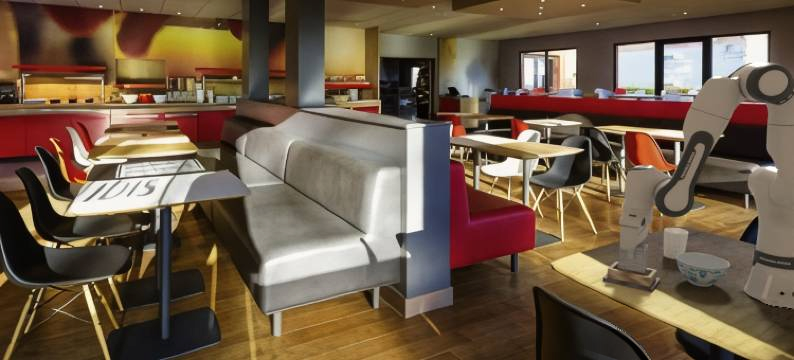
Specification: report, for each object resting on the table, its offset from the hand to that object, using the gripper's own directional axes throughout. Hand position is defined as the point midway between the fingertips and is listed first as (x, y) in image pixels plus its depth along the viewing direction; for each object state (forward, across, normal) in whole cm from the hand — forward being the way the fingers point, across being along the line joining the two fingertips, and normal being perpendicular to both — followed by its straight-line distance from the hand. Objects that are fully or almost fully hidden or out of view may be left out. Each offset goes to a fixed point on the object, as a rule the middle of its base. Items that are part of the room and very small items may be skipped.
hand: (633, 256), depth 171 cm
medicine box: (+5, 0, 0) cm, 5 cm away
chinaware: (+9, -12, +18) cm, 23 cm away
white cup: (+9, -34, +6) cm, 36 cm away
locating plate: (+8, 0, 0) cm, 9 cm away
